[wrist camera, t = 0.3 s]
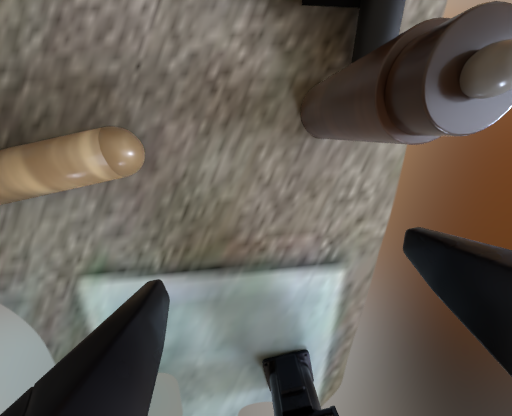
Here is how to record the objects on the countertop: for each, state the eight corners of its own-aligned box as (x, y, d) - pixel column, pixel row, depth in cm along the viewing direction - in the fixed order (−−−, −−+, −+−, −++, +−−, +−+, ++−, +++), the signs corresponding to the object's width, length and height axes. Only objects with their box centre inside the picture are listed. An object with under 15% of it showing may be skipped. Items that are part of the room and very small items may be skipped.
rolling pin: (142, 122, 18) (118, 119, 15) (158, 167, 20) (140, 175, 16) (-31, 160, 18) (-100, 167, 14) (-2, 203, 20) (-58, 220, 16)
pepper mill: (352, 132, 20) (576, 133, 7) (303, 143, 20) (435, 163, 7) (350, 76, 19) (638, -66, 5) (297, 86, 19) (454, -29, 5)
